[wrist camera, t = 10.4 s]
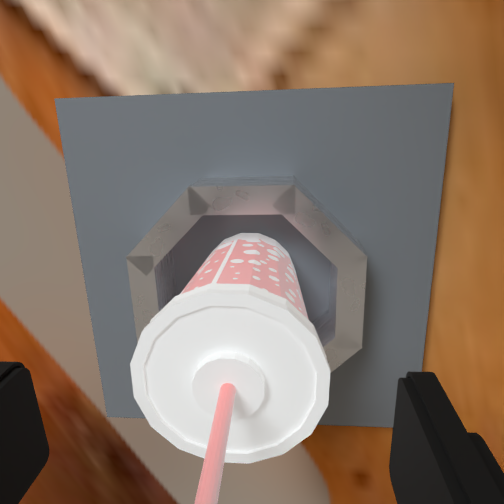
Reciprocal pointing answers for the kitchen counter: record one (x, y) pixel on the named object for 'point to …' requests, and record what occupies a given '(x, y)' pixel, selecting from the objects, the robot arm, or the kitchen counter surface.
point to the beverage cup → (233, 361)
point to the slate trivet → (273, 226)
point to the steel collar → (257, 203)
